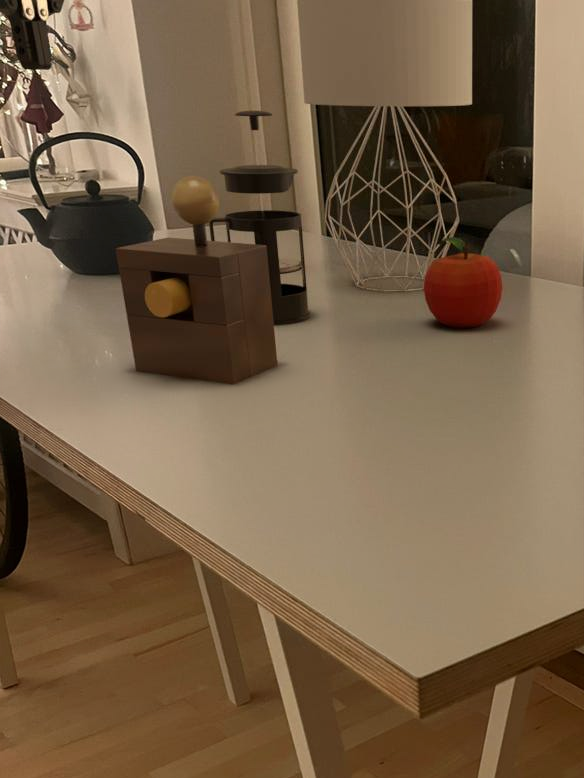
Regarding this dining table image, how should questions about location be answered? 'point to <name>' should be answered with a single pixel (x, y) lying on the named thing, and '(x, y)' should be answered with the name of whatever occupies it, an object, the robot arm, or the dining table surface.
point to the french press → (268, 228)
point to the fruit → (463, 287)
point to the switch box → (200, 299)
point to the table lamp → (387, 85)
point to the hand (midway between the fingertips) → (36, 69)
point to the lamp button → (168, 297)
